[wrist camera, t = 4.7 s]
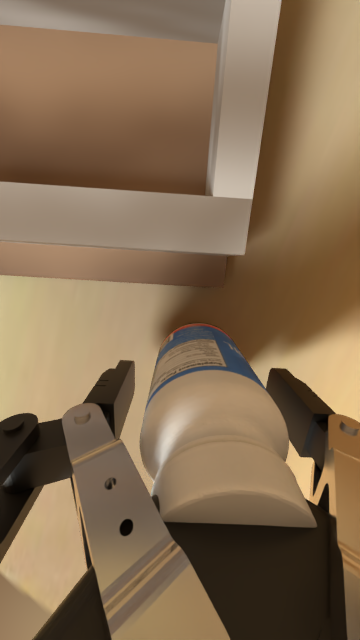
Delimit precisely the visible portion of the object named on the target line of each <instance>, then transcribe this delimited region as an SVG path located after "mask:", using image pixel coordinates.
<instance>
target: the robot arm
mask: <svg viewBox="0 0 360 640" xmlns="http://www.w3.org/2000/svg"><path fill="white" fill-rule="evenodd" d="M134 389H135V364H134V361H127V360H120V362H119V363H118V365H117V367H116V368H115V369H108V370H107V371H105V372H104V373H103V374H102V375H101V377H100V378H99V380H98V381H97V383H96V384H95V386H94V387H93V389H92V390H91V392H90V393H89V395H88V396H87V398H86V399H85V401H84V402H83V404H79V405H77V406H74V407H72V408H71V409H69V410H68V411H67V412H66V413H65V414H64V416H63V418H61V419H58V420H53V421H48V422H42V423H38V418H37V416H36V415H34V414H31V413H23V414H18V415H14V416H11V417H9V418H7V419H5V420H3V421H1V422H0V563H1V561H2V559H3V558H4V556H5V554H6V552H7V551H8V549H9V547H10V545H11V543H12V542H13V540H14V538H15V536H16V534H17V533H18V531H19V529H20V527H21V526H22V524H23V522H24V520H25V518H26V517H27V515H28V513H29V511H30V510H31V508H32V506H33V504H34V502H35V501H36V499H37V497H38V495H39V494H40V492H41V490H42V488H43V486H44V485H46V484H50V483H53V482H57V481H60V480H64V479H67V478H70V483H71V488H72V493H73V498H74V503H75V508H76V514H77V519H78V524H79V530H80V536H81V542H82V548H83V553H84V559H85V564H86V569H87V571H86V573H85V574H84V575H83V577H82V578H81V579H80V580H79V582H78V583H77V584H76V585H75V587H74V588H73V589H72V590H71V592H70V593H69V594H68V595H67V597H66V598H65V599H64V600H63V602H62V603H61V604H60V605H59V607H58V608H57V609H56V610H55V612H54V613H53V614H52V616H51V617H50V618H49V619H48V621H47V622H46V623H45V624H44V626H43V627H42V628H41V629H40V631H39V632H38V633H37V634H36V636H35V637H34V638H33V639H32V640H360V423H359V422H358V421H356V420H354V419H352V418H350V417H347V416H344V415H340V414H336V413H335V412H334V411H333V410H332V409H331V408H330V407H329V406H328V405H327V404H326V403H325V402H324V401H323V400H321V399H320V398H319V397H318V396H317V395H316V394H315V393H314V392H313V391H312V390H311V389H310V388H309V387H308V386H307V385H306V384H305V383H303V382H302V381H300V380H299V379H297V378H295V377H294V376H293V375H292V374H291V373H290V372H289V371H288V370H287V369H280V368H272V369H271V370H270V372H269V377H268V381H267V386H266V390H267V392H268V393H269V395H270V396H271V398H272V399H273V401H274V402H275V404H276V405H277V407H278V409H279V410H280V412H281V414H282V416H283V418H284V421H285V423H286V427H287V431H288V437H289V439H290V441H291V443H292V444H293V446H294V448H295V449H296V451H297V452H298V454H299V456H300V457H312V458H313V460H314V462H313V465H312V474H311V487H310V500H309V501H308V500H307V499H305V500H306V502H307V504H308V506H309V508H310V510H311V512H312V514H313V516H314V518H315V520H316V523H317V527H315V528H310V527H285V526H267V525H243V524H217V523H184V522H164V521H163V520H162V518H161V516H160V504H159V498H158V496H157V495H156V494H155V495H153V496H152V497H151V496H150V494H149V492H148V490H147V488H146V486H145V484H144V482H143V480H142V478H141V476H140V474H139V472H138V470H137V469H136V467H135V465H134V463H133V461H132V459H131V457H130V455H129V453H128V451H127V449H126V447H125V445H124V443H123V441H122V440H121V439H119V438H120V435H121V431H122V428H123V425H124V422H125V419H126V416H127V413H128V410H129V407H130V404H131V401H132V398H133V395H134Z"/></svg>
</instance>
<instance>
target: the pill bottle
mask: <svg viewBox="0 0 360 640" xmlns="http://www.w3.org/2000/svg"><path fill="white" fill-rule="evenodd" d="M288 449H289V437H288V431H287V427H286V423H285V421H284V418H283V416H282V414H281V412H280V410H279V409H278V407H277V405H276V404H275V402H274V401H273V399H272V398H271V396H270V395H269V393H268V392H267V390H266V389H265V387H264V386H263V384H262V383H261V381H260V380H259V379H258V377H257V376H256V374H255V373H254V371H253V370H252V368H251V367H250V365H249V364H248V362H247V361H246V360H245V358H244V357H243V355H242V354H241V352H240V351H239V349H238V348H237V346H236V345H235V343H234V342H233V340H232V339H231V338H230V337H229V336H228V335H227V334H226V333H225V332H224V331H222V330H221V329H219V328H217V327H215V326H212V325H209V324H203V323H194V324H188V325H185V326H182V327H180V328H178V329H176V330H175V331H173V332H172V333H171V334H170V335H169V336H168V337H167V338H166V339H165V341H164V342H163V344H162V345H161V347H160V350H159V353H158V357H157V361H156V366H155V370H154V374H153V378H152V383H151V387H150V392H149V396H148V400H147V405H146V409H145V414H144V418H143V424H142V429H141V434H140V452H141V457H142V461H143V464H144V467H145V469H146V471H147V473H148V474H149V476H150V478H151V479H152V481H153V482H154V484H153V486H152V491H151V497H152V496H153V495H155V494H156V495H157V496H158V498H159V504H160V516H161V518H162V520H163V521H164V522H184V523H217V524H243V525H267V526H285V527H310V528H315V527H317V523H316V520H315V518H314V516H313V514H312V512H311V510H310V508H309V506H308V504H307V502H306V500H305V498H304V496H303V494H302V492H301V490H300V488H299V486H298V484H297V481H296V478H295V476H294V474H293V472H292V471H291V469H290V467H289V466H288V465H287V464H286V463H285V461H286V458H287V454H288Z"/></svg>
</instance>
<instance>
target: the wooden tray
mask: <svg viewBox="0 0 360 640" xmlns="http://www.w3.org/2000/svg"><path fill="white" fill-rule="evenodd" d="M281 1H282V0H0V275H11V276H27V277H44V278H61V279H78V280H95V281H112V282H129V283H146V284H163V285H179V286H196V287H213V288H223V287H224V279H225V271H226V263H227V256H237V255H245V248H246V241H247V235H248V228H249V221H250V214H251V207H252V200H253V193H254V186H255V179H256V173H257V166H258V159H259V152H260V145H261V138H262V131H263V124H264V118H265V111H266V104H267V97H268V90H269V83H270V76H271V69H272V63H273V56H274V49H275V42H276V35H277V28H278V21H279V14H280V7H281Z"/></svg>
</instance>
